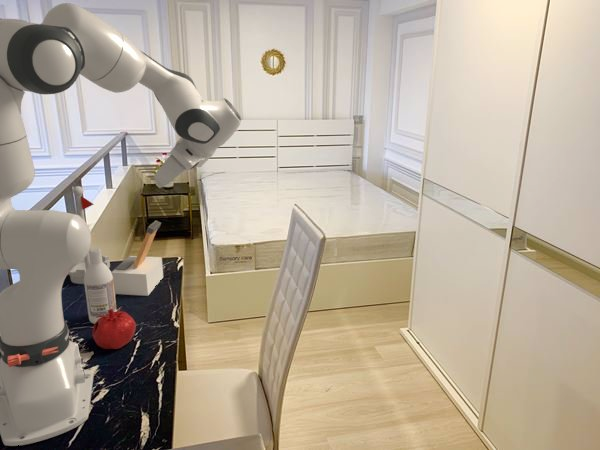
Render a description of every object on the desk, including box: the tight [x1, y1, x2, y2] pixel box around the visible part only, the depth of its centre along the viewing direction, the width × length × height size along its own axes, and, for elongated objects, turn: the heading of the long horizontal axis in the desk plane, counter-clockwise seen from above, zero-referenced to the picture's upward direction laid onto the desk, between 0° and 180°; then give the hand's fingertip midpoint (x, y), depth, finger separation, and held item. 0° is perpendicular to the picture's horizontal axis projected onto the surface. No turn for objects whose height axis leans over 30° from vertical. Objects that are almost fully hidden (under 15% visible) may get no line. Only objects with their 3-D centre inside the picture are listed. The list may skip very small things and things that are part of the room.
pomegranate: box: [91, 308, 137, 350], centre depth 111 cm, size 10×10×9 cm
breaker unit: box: [111, 255, 164, 297], centre depth 141 cm, size 10×13×8 cm
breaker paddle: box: [133, 220, 162, 268], centre depth 137 cm, size 2×6×14 cm, turn 177°
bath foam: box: [83, 247, 118, 324], centre depth 119 cm, size 7×7×20 cm
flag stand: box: [67, 185, 111, 285], centre depth 142 cm, size 13×13×30 cm
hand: (159, 185), depth 123 cm, fingers closed
